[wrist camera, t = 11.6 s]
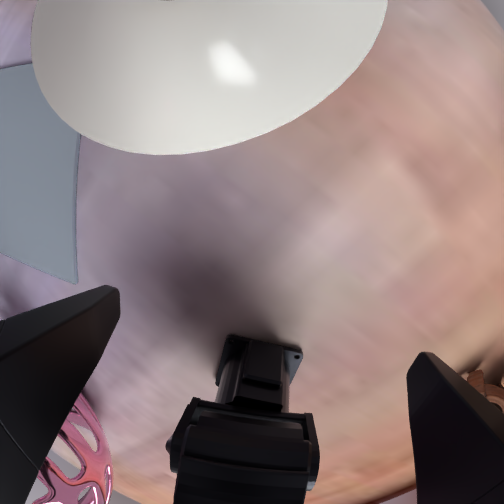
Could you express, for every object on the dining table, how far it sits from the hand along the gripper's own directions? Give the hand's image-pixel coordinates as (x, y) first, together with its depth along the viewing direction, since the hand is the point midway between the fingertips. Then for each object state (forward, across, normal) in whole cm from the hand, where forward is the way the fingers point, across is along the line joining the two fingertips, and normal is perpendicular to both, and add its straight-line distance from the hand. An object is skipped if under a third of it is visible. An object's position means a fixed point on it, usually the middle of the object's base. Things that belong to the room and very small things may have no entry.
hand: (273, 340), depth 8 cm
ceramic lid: (+7, +7, -12) cm, 16 cm away
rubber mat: (+13, +25, 0) cm, 28 cm away
